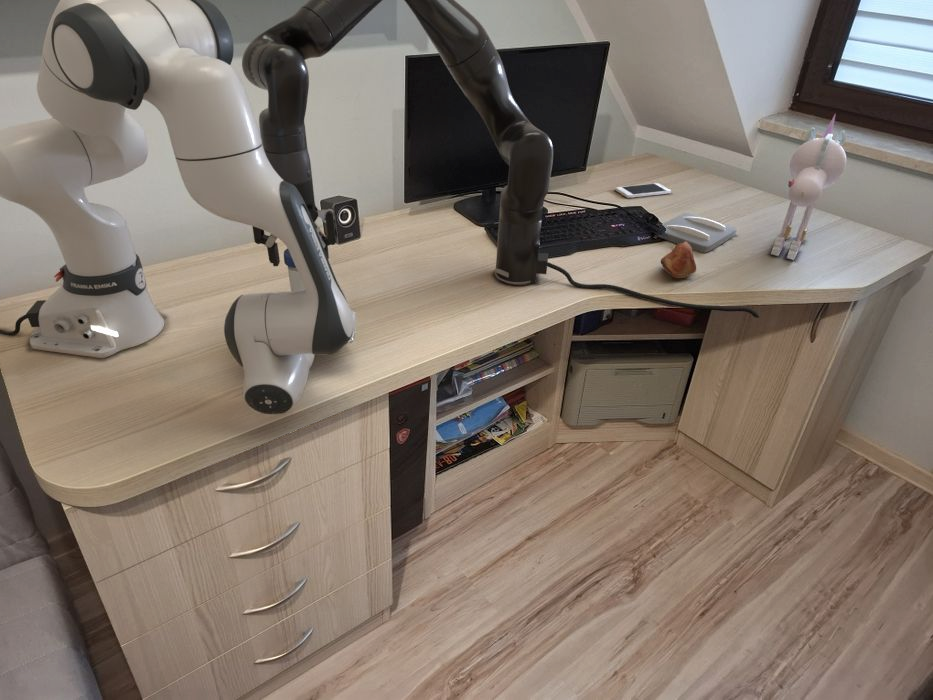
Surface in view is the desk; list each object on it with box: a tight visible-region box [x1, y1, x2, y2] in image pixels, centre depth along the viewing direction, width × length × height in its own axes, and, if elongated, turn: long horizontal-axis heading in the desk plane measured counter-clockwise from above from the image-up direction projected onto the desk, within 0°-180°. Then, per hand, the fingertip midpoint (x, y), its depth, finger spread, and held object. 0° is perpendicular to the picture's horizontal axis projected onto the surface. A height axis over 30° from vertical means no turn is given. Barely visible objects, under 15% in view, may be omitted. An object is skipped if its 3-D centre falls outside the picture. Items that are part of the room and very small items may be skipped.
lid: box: [283, 247, 296, 268], centre depth 113 cm, size 5×5×2 cm
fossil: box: [660, 241, 697, 279], centre depth 147 cm, size 13×8×10 cm
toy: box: [770, 112, 847, 261], centre depth 159 cm, size 12×36×30 cm, turn 148°
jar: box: [287, 266, 305, 291], centre depth 118 cm, size 4×4×16 cm
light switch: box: [654, 212, 737, 253], centre depth 167 cm, size 18×3×15 cm
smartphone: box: [615, 182, 672, 199], centre depth 194 cm, size 7×16×1 cm, turn 111°
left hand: (306, 303), depth 119 cm, fingers closed on jar, 4 cm apart
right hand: (299, 264), depth 114 cm, fingers open, 7 cm apart
